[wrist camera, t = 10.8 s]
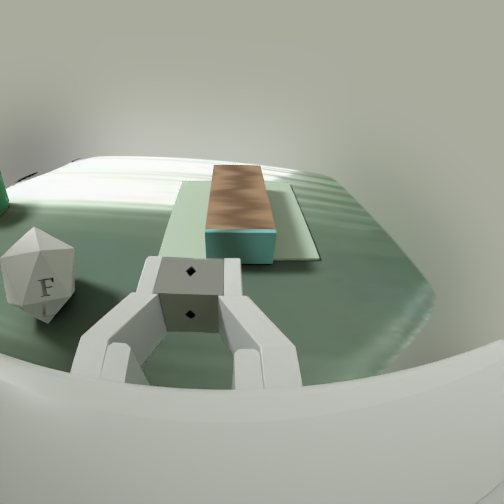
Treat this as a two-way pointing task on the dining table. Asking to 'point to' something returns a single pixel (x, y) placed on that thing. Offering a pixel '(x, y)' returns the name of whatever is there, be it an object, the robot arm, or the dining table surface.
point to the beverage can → (3, 197)
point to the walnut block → (239, 216)
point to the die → (39, 274)
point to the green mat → (195, 213)
